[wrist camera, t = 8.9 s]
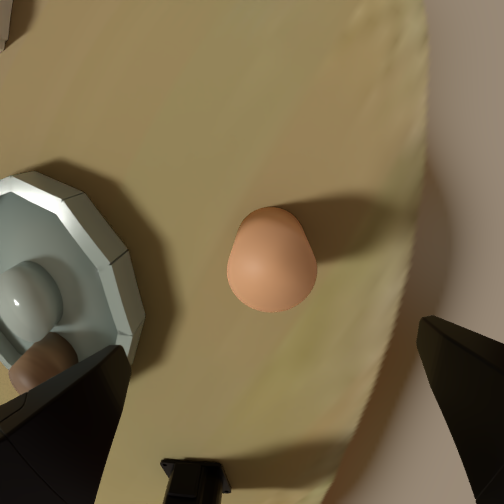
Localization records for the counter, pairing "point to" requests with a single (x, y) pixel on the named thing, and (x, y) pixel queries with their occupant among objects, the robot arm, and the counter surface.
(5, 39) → the mug coaster frame
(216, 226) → the counter surface
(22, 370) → the brown rounded short cylinder
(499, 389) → the robot arm
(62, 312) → the groove tray
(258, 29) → the counter surface
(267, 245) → the brown egg
